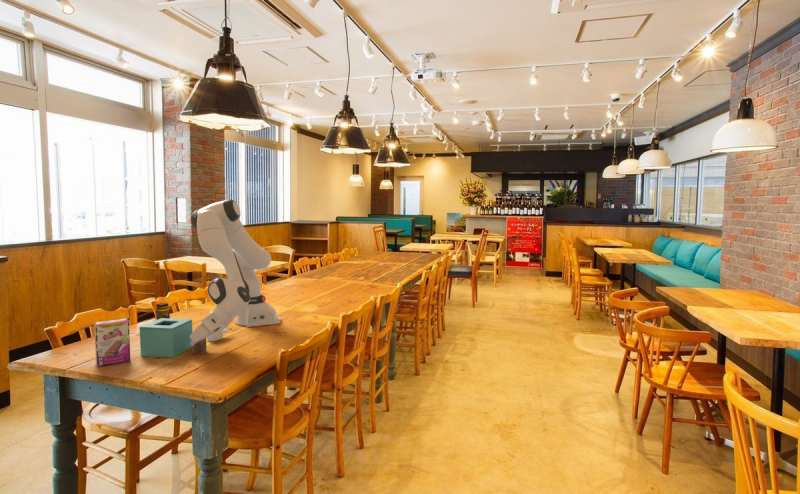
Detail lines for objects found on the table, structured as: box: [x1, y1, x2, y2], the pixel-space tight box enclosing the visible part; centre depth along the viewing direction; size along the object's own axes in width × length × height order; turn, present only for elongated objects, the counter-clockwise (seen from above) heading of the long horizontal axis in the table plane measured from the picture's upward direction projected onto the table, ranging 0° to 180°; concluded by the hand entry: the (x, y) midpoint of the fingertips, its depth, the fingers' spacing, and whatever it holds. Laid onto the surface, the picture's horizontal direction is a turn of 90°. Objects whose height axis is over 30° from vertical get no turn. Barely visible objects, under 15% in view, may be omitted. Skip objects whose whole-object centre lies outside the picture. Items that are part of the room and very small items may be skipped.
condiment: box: [155, 302, 171, 321], centre depth 227 cm, size 7×8×12 cm
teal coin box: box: [139, 318, 193, 358], centre depth 192 cm, size 14×14×12 cm
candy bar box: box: [93, 318, 131, 368], centre depth 178 cm, size 11×5×16 cm, turn 128°
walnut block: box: [191, 333, 207, 355], centre depth 191 cm, size 4×4×9 cm
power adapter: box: [207, 326, 233, 342], centre depth 211 cm, size 11×5×6 cm, turn 150°
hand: (197, 341), depth 191 cm, fingers open, 6 cm apart
